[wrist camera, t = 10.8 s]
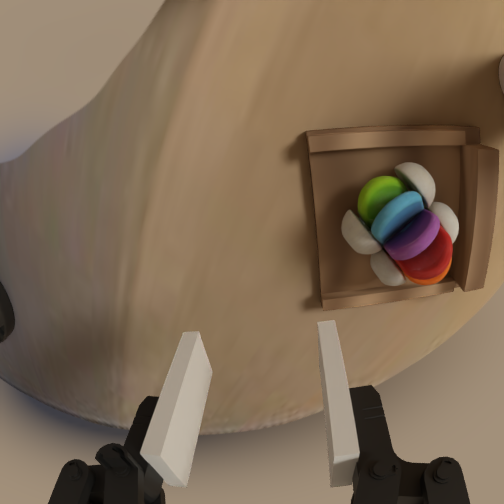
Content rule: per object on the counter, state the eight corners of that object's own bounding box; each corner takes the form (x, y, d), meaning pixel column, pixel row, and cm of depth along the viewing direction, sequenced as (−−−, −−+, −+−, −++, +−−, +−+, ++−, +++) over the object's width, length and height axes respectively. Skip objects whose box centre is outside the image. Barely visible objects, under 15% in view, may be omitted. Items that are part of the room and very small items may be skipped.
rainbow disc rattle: (386, 283, 28) (411, 331, 21) (322, 209, 25) (338, 246, 19) (453, 226, 25) (495, 262, 18) (398, 142, 22) (440, 158, 16)
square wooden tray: (320, 302, 30) (325, 326, 27) (305, 131, 24) (310, 135, 20) (463, 281, 28) (480, 301, 25) (474, 126, 21) (498, 131, 18)
